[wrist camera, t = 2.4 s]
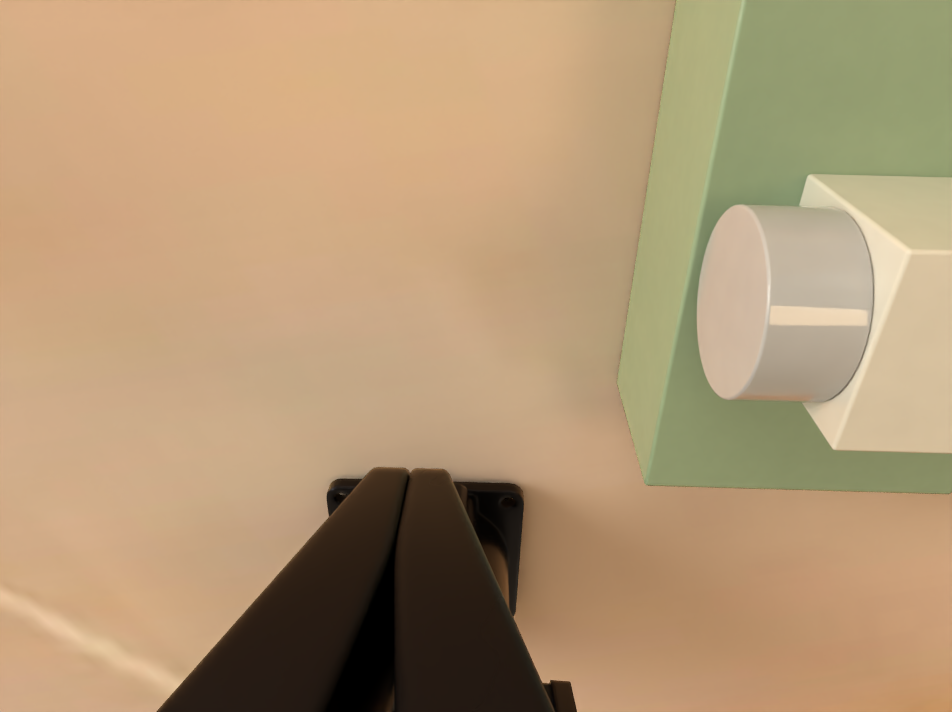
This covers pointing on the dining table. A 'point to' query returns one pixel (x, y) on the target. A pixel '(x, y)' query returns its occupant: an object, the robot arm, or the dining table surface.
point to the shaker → (838, 309)
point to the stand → (771, 183)
